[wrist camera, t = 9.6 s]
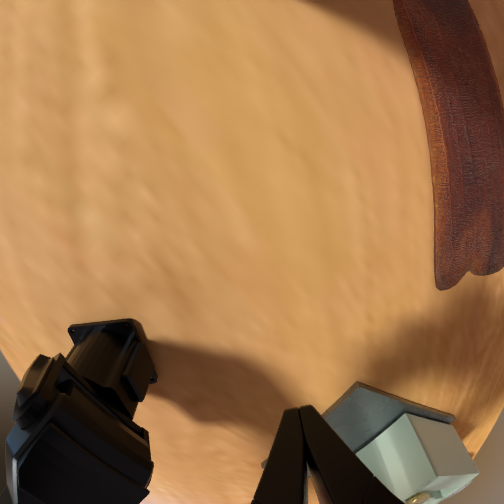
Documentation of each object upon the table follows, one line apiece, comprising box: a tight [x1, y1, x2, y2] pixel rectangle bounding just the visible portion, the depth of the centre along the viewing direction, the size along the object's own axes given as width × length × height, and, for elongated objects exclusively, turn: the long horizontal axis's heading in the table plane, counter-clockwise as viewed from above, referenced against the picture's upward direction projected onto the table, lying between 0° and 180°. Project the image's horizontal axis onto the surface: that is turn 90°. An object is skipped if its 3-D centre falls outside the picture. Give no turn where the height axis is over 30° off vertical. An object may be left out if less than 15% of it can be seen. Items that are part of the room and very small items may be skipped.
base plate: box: [261, 382, 456, 504], centre depth 24 cm, size 20×16×11 cm
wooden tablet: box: [393, 0, 504, 291], centre depth 17 cm, size 27×10×2 cm, turn 13°
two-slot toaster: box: [356, 413, 479, 504], centre depth 25 cm, size 12×14×9 cm
